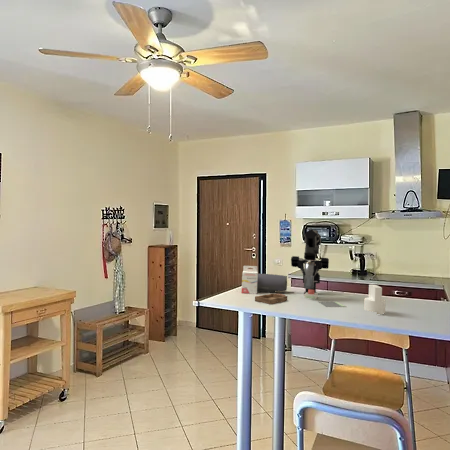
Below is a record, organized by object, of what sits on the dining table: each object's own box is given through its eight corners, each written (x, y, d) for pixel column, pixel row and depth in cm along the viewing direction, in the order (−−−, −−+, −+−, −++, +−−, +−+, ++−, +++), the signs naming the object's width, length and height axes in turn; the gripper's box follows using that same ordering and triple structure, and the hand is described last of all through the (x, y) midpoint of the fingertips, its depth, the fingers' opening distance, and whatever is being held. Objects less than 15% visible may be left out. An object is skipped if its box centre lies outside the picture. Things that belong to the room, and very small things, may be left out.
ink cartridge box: (241, 293, 221) (242, 266, 221) (241, 291, 226) (242, 265, 226) (257, 294, 220) (257, 267, 220) (257, 292, 225) (258, 266, 225)
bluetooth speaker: (286, 291, 231) (287, 274, 231) (285, 294, 222) (286, 276, 222) (247, 288, 236) (248, 271, 236) (244, 291, 227) (245, 273, 227)
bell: (306, 286, 206) (307, 260, 206) (315, 288, 203) (316, 261, 203) (301, 287, 202) (302, 260, 202) (310, 289, 199) (311, 261, 199)
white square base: (306, 298, 213) (306, 292, 213) (317, 299, 211) (317, 293, 210) (304, 300, 207) (304, 294, 207) (315, 301, 205) (316, 295, 205)
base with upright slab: (361, 310, 187) (362, 284, 187) (380, 310, 187) (381, 284, 187) (367, 314, 178) (368, 287, 178) (388, 315, 178) (389, 288, 178)
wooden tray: (272, 297, 210) (272, 293, 210) (287, 300, 203) (287, 296, 203) (254, 301, 201) (255, 296, 201) (269, 304, 194) (269, 299, 194)
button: (308, 293, 211) (308, 289, 211) (314, 293, 210) (314, 289, 210) (307, 294, 208) (307, 290, 208) (313, 294, 207) (313, 290, 207)
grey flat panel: (317, 304, 198) (317, 301, 198) (337, 304, 199) (337, 301, 199) (326, 309, 186) (326, 306, 186) (347, 309, 187) (347, 306, 187)
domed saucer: (273, 294, 219) (274, 292, 219) (286, 295, 217) (286, 294, 217) (270, 296, 213) (270, 295, 213) (283, 298, 210) (283, 296, 210)
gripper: (291, 240, 208) (289, 264, 198) (329, 242, 204) (328, 266, 193) (292, 254, 216) (290, 277, 206) (328, 256, 212) (328, 280, 201)
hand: (308, 275), depth 201 cm, fingers closed on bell, 5 cm apart
